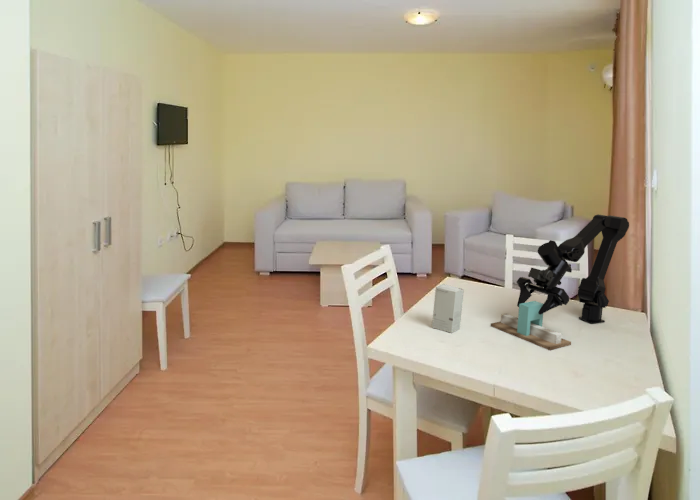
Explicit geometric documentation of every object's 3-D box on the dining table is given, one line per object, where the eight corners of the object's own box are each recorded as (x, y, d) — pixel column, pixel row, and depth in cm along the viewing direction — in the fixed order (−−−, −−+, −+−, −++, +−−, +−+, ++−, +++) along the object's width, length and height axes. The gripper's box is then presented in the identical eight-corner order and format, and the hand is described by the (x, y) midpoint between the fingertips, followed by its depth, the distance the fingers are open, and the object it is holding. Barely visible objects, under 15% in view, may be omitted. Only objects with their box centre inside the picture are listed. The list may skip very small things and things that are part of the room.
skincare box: (431, 328, 205) (433, 286, 202) (440, 323, 209) (443, 283, 206) (452, 333, 200) (455, 291, 197) (461, 329, 204) (464, 287, 201)
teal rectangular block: (532, 328, 203) (534, 300, 201) (541, 332, 200) (544, 303, 198) (517, 332, 199) (519, 303, 197) (526, 335, 196) (528, 306, 194)
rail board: (490, 326, 208) (491, 315, 207) (511, 321, 213) (511, 311, 212) (549, 350, 186) (550, 338, 185) (571, 344, 191) (572, 333, 190)
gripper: (522, 253, 204) (496, 288, 201) (566, 265, 188) (539, 303, 185) (536, 273, 210) (511, 307, 206) (580, 285, 194) (554, 323, 191)
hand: (528, 309), depth 197 cm, fingers open, 9 cm apart
